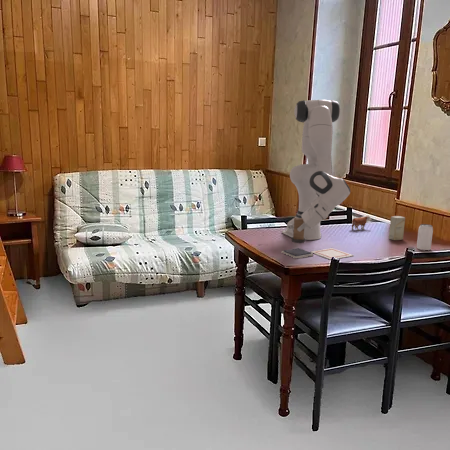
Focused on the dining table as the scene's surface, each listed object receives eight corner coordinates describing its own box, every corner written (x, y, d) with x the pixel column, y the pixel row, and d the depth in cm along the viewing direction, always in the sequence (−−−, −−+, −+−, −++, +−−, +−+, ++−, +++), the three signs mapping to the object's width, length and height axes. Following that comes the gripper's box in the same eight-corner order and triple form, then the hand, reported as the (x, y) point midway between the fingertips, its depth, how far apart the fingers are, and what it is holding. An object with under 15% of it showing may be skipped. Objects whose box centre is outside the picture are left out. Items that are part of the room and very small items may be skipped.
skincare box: (394, 240, 248) (396, 218, 246) (388, 238, 252) (390, 216, 250) (403, 239, 251) (405, 217, 248) (397, 237, 255) (399, 215, 252)
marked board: (310, 252, 222) (310, 251, 222) (332, 248, 230) (332, 247, 229) (331, 260, 211) (331, 259, 211) (353, 256, 218) (353, 255, 218)
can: (416, 249, 231) (419, 226, 228) (416, 246, 237) (419, 223, 234) (430, 251, 229) (433, 227, 226) (430, 248, 235) (433, 224, 232)
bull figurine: (371, 229, 273) (373, 215, 272) (354, 231, 268) (355, 217, 266) (366, 227, 277) (367, 214, 275) (348, 229, 271) (349, 215, 270)
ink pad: (281, 253, 220) (281, 250, 220) (298, 250, 225) (298, 247, 225) (295, 259, 211) (295, 255, 211) (313, 256, 217) (313, 252, 216)
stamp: (291, 239, 220) (292, 217, 218) (304, 240, 220) (305, 218, 217) (292, 242, 214) (293, 220, 212) (305, 243, 214) (306, 220, 211)
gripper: (312, 199, 223) (291, 219, 225) (318, 207, 203) (294, 228, 205) (321, 209, 223) (300, 228, 226) (328, 217, 203) (304, 239, 206)
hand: (297, 228), depth 216 cm, fingers closed on stamp, 4 cm apart
